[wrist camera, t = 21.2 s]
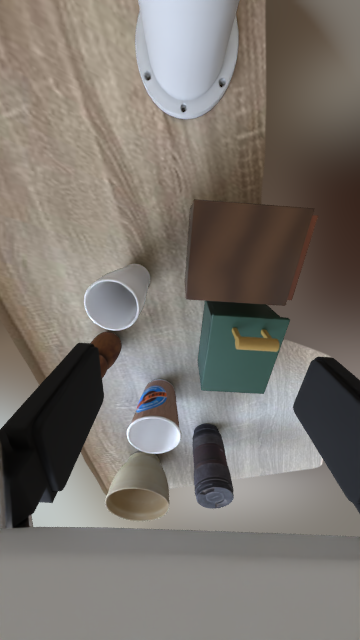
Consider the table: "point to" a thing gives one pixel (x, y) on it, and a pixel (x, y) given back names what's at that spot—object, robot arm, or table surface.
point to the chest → (226, 308)
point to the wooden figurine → (107, 349)
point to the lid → (242, 352)
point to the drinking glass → (118, 297)
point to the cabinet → (243, 251)
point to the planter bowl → (139, 489)
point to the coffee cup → (155, 419)
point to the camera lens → (211, 468)
